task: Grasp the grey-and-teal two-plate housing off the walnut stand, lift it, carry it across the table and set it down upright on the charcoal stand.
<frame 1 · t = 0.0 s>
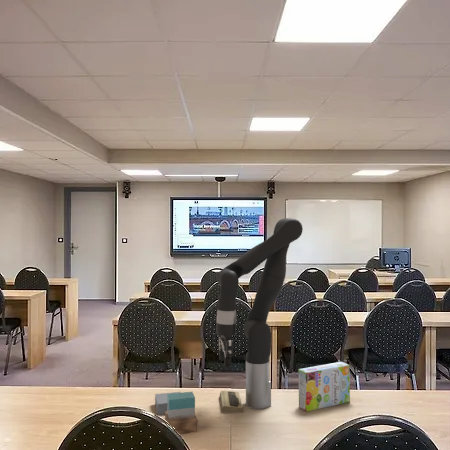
hand: (224, 363, 172), 17 cm above the table, tool pointing down, fingers open, 8 cm apart
snack box: (324, 405, 175), on the table
stand b: (169, 408, 172), on the table
computer: (230, 405, 176), on the table
stand a: (180, 427, 156), on the table
housing: (180, 415, 156), point 4 cm above the table, touching stand a
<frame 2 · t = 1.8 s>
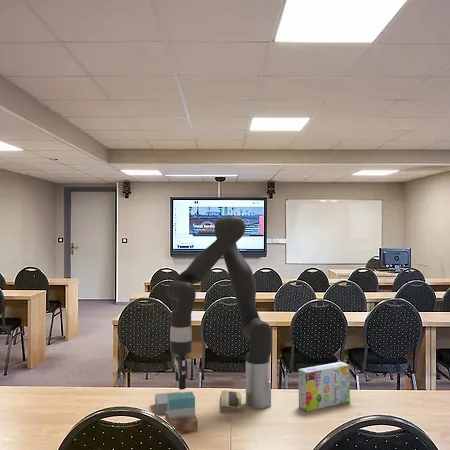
hand: (180, 384, 156), 15 cm above the table, tool pointing down, fingers open, 8 cm apart
nothing on the table moved.
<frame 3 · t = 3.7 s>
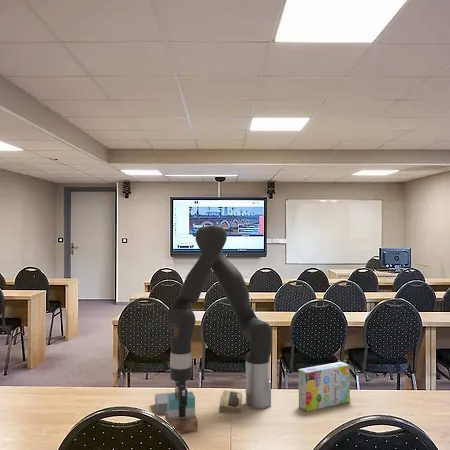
hand: (180, 412, 156), 5 cm above the table, tool pointing down, fingers closed on housing, 5 cm apart
housing: (180, 415, 156), point 4 cm above the table, touching gripper, stand a
everything else where it was.
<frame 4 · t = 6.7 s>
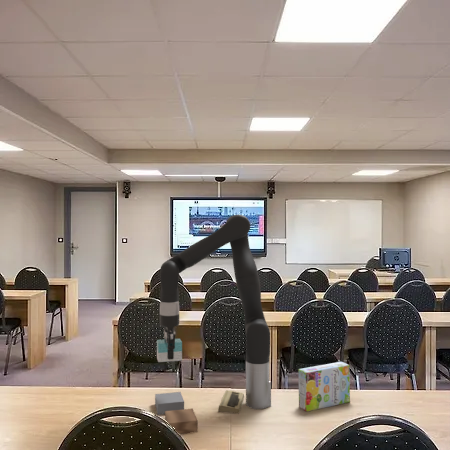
hand: (169, 356, 172), 20 cm above the table, tool pointing down, fingers closed on housing, 5 cm apart
housing: (169, 359, 172), point 19 cm above the table, touching gripper
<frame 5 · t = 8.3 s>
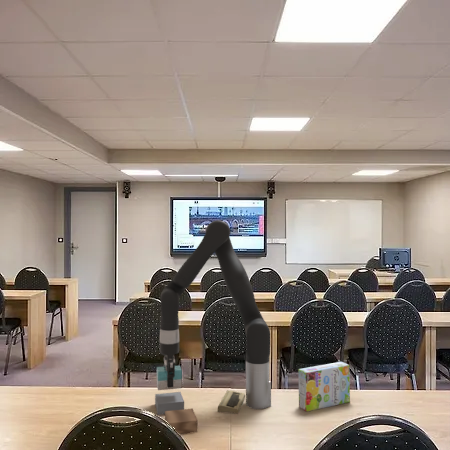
hand: (169, 384, 172), 9 cm above the table, tool pointing down, fingers closed on housing, 5 cm apart
housing: (169, 386, 172), point 8 cm above the table, touching gripper
when the fingers open (6 cm above the table, at t = 9.9 s): housing drops 1 cm, resting on stand b.
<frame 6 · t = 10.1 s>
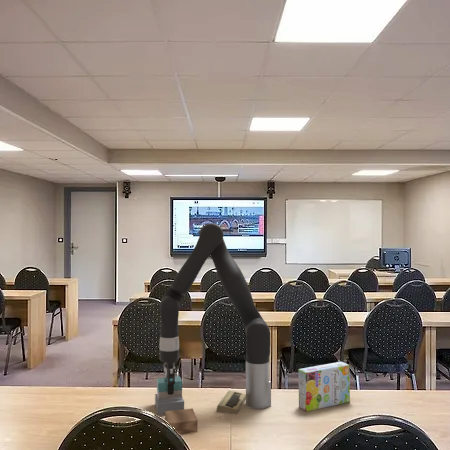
hand: (169, 390, 172), 7 cm above the table, tool pointing down, fingers open, 7 cm apart
housing: (169, 397, 172), point 4 cm above the table, touching stand b
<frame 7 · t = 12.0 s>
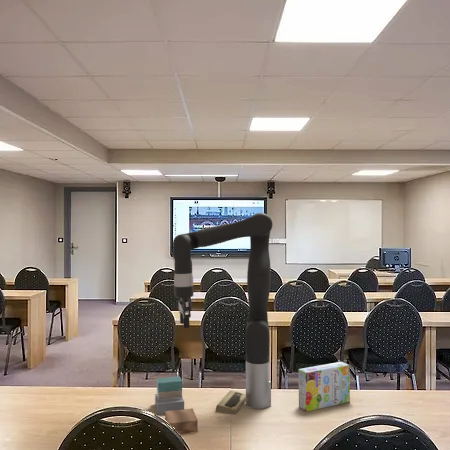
hand: (184, 325, 176), 31 cm above the table, tool pointing down, fingers open, 8 cm apart
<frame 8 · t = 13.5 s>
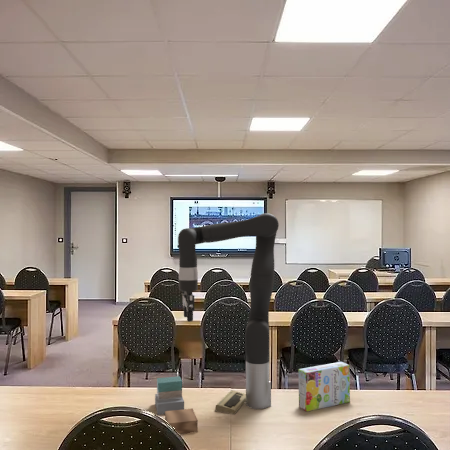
hand: (188, 319, 178), 33 cm above the table, tool pointing down, fingers open, 8 cm apart
at the end: housing inside the target area on the stand b (0.0 cm from its centre), point 4.0 cm above the stand b's base; housing tilted 0°; the gripper is holding nothing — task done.
